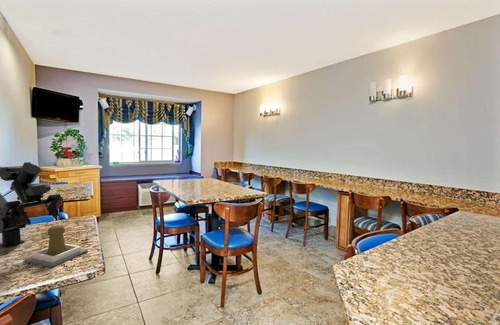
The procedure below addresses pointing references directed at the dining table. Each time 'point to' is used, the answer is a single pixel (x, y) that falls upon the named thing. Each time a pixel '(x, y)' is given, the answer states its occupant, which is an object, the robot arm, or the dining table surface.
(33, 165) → the robot arm
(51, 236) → the olive tapered shaker
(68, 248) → the grey square tray
